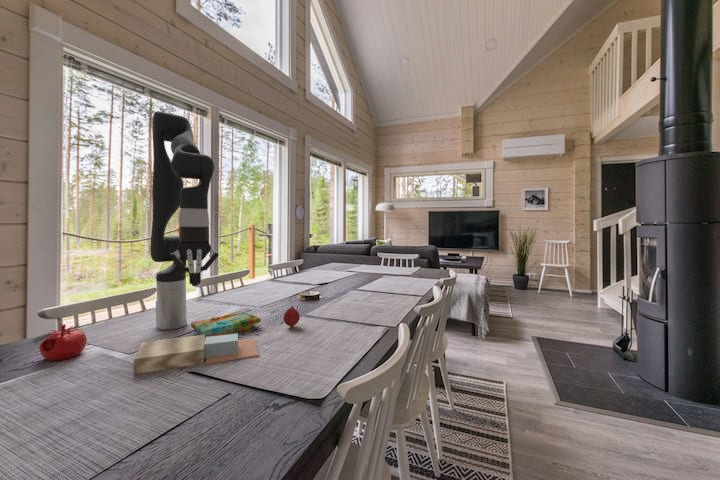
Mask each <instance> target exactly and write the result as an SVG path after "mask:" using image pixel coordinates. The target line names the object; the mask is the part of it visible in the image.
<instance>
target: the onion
mask: <svg viewBox="0 0 720 480" xmlns="http://www.w3.org/2000/svg"><path fill="white" fill-rule="evenodd" d="M294 307H295V306H294V305H292V306H290V307H289V308H288V309H287V310H286V311H285V312H284V314H283V321H284V323H285V324H286V325H287V326H289V328H293V327H295V326H296V325H297V324H298V323H299V322H300V319H301V318H300V315H301V314H300V312H299V311H298V310H297V309H296V308H294Z"/></svg>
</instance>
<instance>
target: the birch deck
mask: <svg viewBox="0 0 720 480" xmlns="http://www.w3.org/2000/svg"><path fill="white" fill-rule="evenodd" d="M204 342H205V335H198V334H196V335H189V336H183V337H182V336H181V337H174V338H168V339H167V338H166V339H159V340H158V339H157V340H149V341H143V342H142V343H141V345H140V347H139V349H138V350H137V352H136V354H135V356H134V357H133V361H132V362H133V375H138V374H144V373H145V374H146V373H152V372H157V371H163V370H165V371H166V370H170V369H177V368H184V367H189V366H195V365H196V366H197V365H202V364H204V363H205V358H204Z"/></svg>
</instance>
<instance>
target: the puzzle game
mask: <svg viewBox="0 0 720 480" xmlns="http://www.w3.org/2000/svg"><path fill="white" fill-rule="evenodd" d="M261 321H262V320H261V318H260V317H258V316H257V315H254V314H252V313H250V312H248V311H242V312H237V313H236V312H235V313H232V314H231V313H230V314H226V315H221V316H212V317H211V318H207V319H201V320H196V321H192V322H190V327H191V328H192V330H193V331H194V332H195V334H196V335H205V338H206V337H210V336H219V335H228V334H238V333H240V332H244V331H249V330H250V329H251V328H252V326H253V325H256V324H259V323H260V322H261Z"/></svg>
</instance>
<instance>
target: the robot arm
mask: <svg viewBox="0 0 720 480" xmlns="http://www.w3.org/2000/svg"><path fill="white" fill-rule="evenodd" d="M151 121H152V122H151V123H152V124H151V126H152V127H151V128H152V131H151V132H152V149H153V151H152V153H153V168H152V191H151V192H152V196H151V197H152V223H151V235H150V245H149V250H150V251H149V252H150V258H151V260H152V261H153V262H155V263H163V262H164V263H165V262H172V263H171V265H169V266H168V267H167V268H165V269H162V270H160V271H159V272H157V273H156V274H155V275H156V276H155V277H156V284H155V285H156V301H155V326H156V327H157V328H158V330H165V331H166V330H168V331H169V330H176V329H179V328H183V327H185V326H187V324H188V323H187V321H188V320H187V318H188V317H187V316H188V315H187V313H188V311H187V281H186V279H187V277H186V276H187V273H188V274H189V275H188V277H189V278H188V279H189V280H188V281H189V285H191V286H192V287H198V286H199V284H201V282H202V279H201V278H202V274H201V273H202V272H204V271H207V270H208V269H209V268H210V267H211V265H212V264H213V263H214V262H215V261H216V260H217V258H218V257H219V252H217V251H215V250H214V249H212V246H211V244H210V215H209V210H208V209H209V207H208V206H209V204H208V203H209V202H208V200H209V199H208V198H209V197H208V196H209V190H210V185H211V181H212V178H213V175H214V171H215V164H214V160H213V159H212V157H211V156H209V155H208V154H203V153H201V152H200V150H199V148H198V146H197V145H196V142H195V139H194V132H193V128H192V124H191V122H190V120H189V119H188V118H187V117H185V116H182V115H180V114H179V115H178V114H174V113H169V112H166V111H165V112H164V111H159V110H158V111H157V110H156V111H155V112H154V113H153V115H152V120H151ZM165 142H169V143H170V149H171V150H170V151H171V153H172V157H171V158H170V156H169V154H168V152H167V149H166V145H165ZM183 179H190V180H191V179H192V180H199V181H198V183H197V184H196V185H194V186H187V187H184V180H183ZM178 209H179V213H178V231H179V232H178V234H179V235H165V231H166V228H167V226H168V223H169V221H170V220H171V218H172V217H173V216H174V214H175V213H176V212H177V210H178ZM208 254H209V259H207V261H206V262H205V264H204V265H202V261H203V260H204V259H205V258H206V257H207V256H208ZM187 265H188V266H187Z"/></svg>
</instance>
